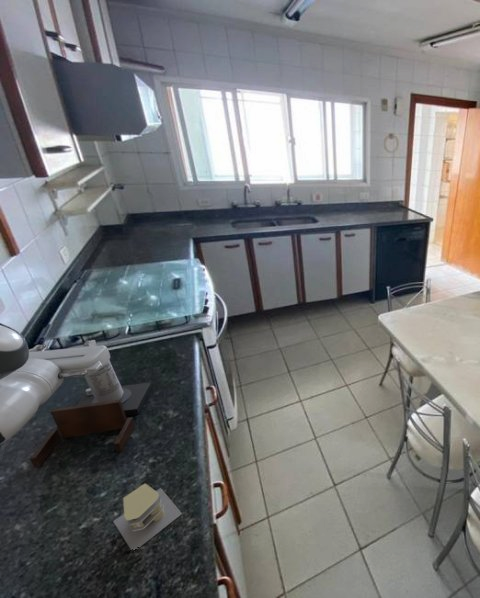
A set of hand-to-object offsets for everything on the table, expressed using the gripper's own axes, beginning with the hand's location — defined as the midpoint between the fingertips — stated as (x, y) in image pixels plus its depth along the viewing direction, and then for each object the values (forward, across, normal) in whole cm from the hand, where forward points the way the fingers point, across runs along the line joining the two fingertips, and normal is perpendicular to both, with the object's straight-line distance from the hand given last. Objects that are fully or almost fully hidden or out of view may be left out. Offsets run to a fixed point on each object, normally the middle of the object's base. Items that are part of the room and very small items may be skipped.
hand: (68, 344), depth 79 cm
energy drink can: (+8, 0, +24) cm, 25 cm away
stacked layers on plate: (-32, -20, +26) cm, 46 cm away
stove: (+8, 0, +26) cm, 27 cm away
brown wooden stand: (-7, 0, +26) cm, 27 cm away
